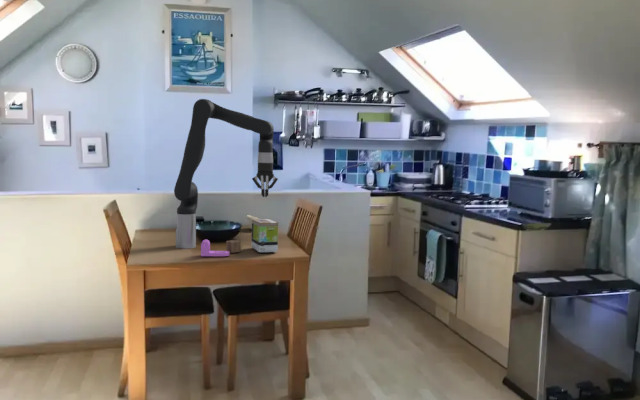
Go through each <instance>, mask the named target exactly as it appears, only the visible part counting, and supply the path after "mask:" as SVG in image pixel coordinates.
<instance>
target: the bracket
mask: <svg viewBox="0 0 640 400" xmlns="http://www.w3.org/2000/svg"><path fill="white" fill-rule="evenodd" d="M228 256H229V257H230V252H229V251H226V250H211V242H210V240H208V239H203V240H202V242H201V243H200V257H228Z"/></svg>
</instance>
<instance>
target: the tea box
mask: <svg viewBox="0 0 640 400" xmlns="http://www.w3.org/2000/svg"><path fill="white" fill-rule="evenodd" d="M278 243H279V222H278V221H276V220H273V219H270V218H259V219H252V229H251V248H252V249H254V251H257V252H258V253H275V252H278V246H279V244H278Z"/></svg>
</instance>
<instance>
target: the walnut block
mask: <svg viewBox="0 0 640 400" xmlns="http://www.w3.org/2000/svg"><path fill="white" fill-rule="evenodd" d="M241 243H242V241H240V240H238V239H234V240H233V239H232V240H226V241H225V246H226V247H225V251H229V253H233V254H234V253H240V252H241V250H242V249H241V247H242V246H241Z"/></svg>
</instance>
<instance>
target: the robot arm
mask: <svg viewBox="0 0 640 400" xmlns="http://www.w3.org/2000/svg"><path fill="white" fill-rule="evenodd" d="M191 115H192V116H191V123H190V128H189V131H188V135H187V140H186V143H185V147H184V151H183V157H182V161H181V165H180V169H179V174H178V176H177V180H176V183H175V185H174V188H173V189H174V190H173V193H174V196H175V197H174V198H176V199H177V200H178V201H180V204H179V206H178V207H177V209H176V229H175V249H193V248H196V247H197V218H196V217H197V213H196V212H197V208H198V201H199V199H198V198H199V190H198V186H197V184H195V182H193V177H194V175H195V173H196V171H197V169H198V167H199V166H200V164H201V162H202V161H203V160H202V159H203V157H204V152H205V148H206V128H207V125H208V121H209V119H214V120H219V121H222V122H226V123H227V124H230V125H233V126H235V127H237V128H241V129H243V130H247V131H251V132H254V133H257V134H259V141H258V146H257V147H258V152H257V154H258V155H257V173H256V176H254V177H252V178H251V179H252V181H253V183H254V184H255V185H256V187H257V188H258V189H261V190H260V191H261V196H262V197H263V198H267V197H268V196H269V190H270V189H272V188H273V187H274V186H275V184H276V183H277V181H278V180H279V178H278V177H276V176H275V174H274V156H273V154H274V153H273V150H274V148H273V147H274V145H273V140H274V125H273V123H272V122H271V121H268V120H264V119H260V118H257V117H254V116H251V115H249V114H245V113H244V112H239V111H235V110H231V109H228V108H226V107H223V106H221V105H218V104H216V103H215V102H213V101H211V100H209V99H206V98H199V99H197V100H196V101H195V103H194V104H193V107H192V114H191ZM259 181H260V182H259ZM271 181H272V182H271ZM270 182H271V184H270Z"/></svg>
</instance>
